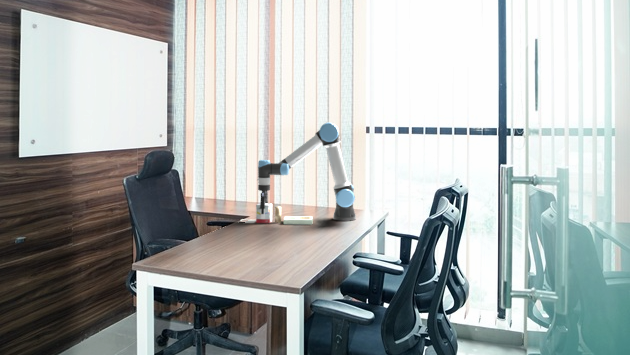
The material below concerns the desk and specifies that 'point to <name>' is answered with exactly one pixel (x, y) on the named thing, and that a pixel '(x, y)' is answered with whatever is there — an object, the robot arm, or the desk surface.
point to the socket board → (298, 220)
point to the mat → (250, 221)
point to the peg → (277, 214)
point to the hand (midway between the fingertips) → (264, 217)
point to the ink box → (267, 213)
